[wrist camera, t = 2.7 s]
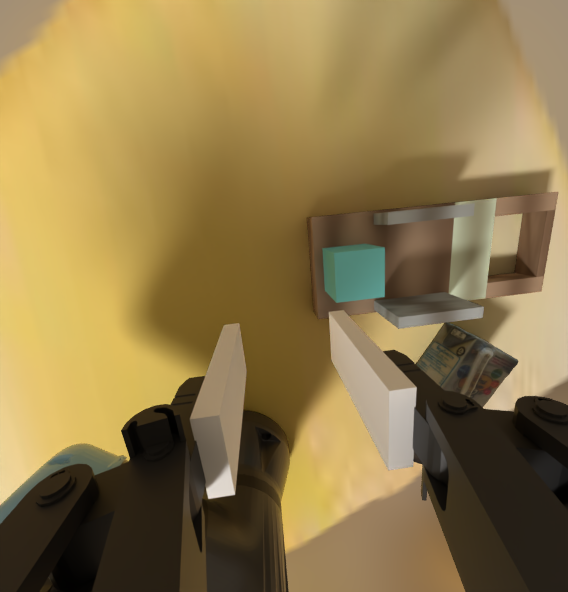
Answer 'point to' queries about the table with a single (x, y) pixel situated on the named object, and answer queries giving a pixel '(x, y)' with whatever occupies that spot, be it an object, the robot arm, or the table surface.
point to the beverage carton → (465, 365)
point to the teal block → (354, 272)
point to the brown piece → (436, 257)
